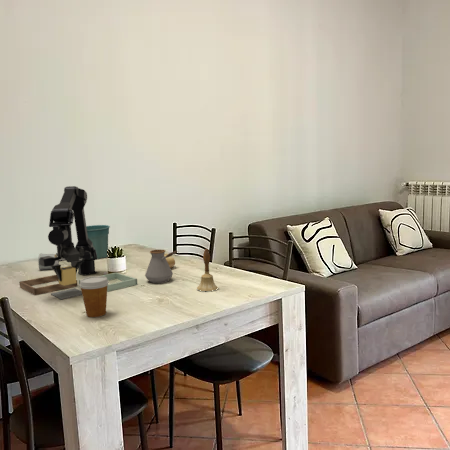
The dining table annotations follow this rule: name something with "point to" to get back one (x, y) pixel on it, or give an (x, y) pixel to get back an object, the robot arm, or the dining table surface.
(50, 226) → the robot arm
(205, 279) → the hand bell
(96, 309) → the disposable coffee cup
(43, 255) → the grey cylinder
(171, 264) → the onion
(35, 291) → the walnut tray
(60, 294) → the rubber mat
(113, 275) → the sage tray
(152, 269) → the coffee pot
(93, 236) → the flower pot
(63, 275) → the letter block
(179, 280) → the dining table surface
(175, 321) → the dining table surface
